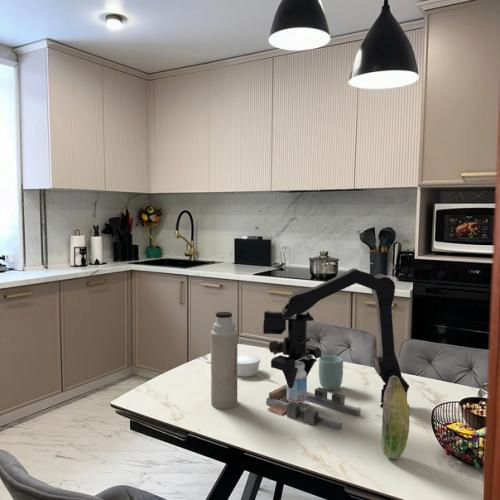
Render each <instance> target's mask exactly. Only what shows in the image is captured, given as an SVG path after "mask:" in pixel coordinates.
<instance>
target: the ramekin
mask: <svg viewBox="0 0 500 500" xmlns="http://www.w3.org/2000/svg"><path fill="white" fill-rule="evenodd" d="M260 362H261V357H260V356H258V355H254V354H250V353H249V354H248V353H246V354H245V353H241V354H237V377H242V378H249V377H253V376H255V375H257V373H258V371H259V368H260Z"/></svg>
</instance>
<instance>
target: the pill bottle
mask: <svg viewBox="0 0 500 500" xmlns="http://www.w3.org/2000/svg"><path fill="white" fill-rule="evenodd" d="M295 367H296V368H298V370H297V374H296V377H295V381H294V385H293V387H292V389H291V388H289V387H288V384H287V383H286V385H287V397H286V400H287V401H288V402H289V403H291V402H294V403H297V404H301V403H304V402H306V401H307V400H306V398H307V392H308V391H307V389H308V388H307V387H308V386H307V385H308V382H307V381H308V376H307V373H306V371H305V370H304V368H305V364H304V363H303V362H300V361H296V362H295Z"/></svg>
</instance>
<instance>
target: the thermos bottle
mask: <svg viewBox="0 0 500 500" xmlns="http://www.w3.org/2000/svg"><path fill="white" fill-rule="evenodd" d="M215 317H216V318H215V322H214V323H213V324H212V330H210V373H211V374H210V377H211V379H210V380H211V381H210V383H211V384H210V405H211V406H212V407H213V408H215V409H220V410H228V409H229V410H230V409H232V408H235V407H236V406H237V405H238V376H237V355H238V330H237V329H236V324H235V322H233V313H232V312H230V311H218V312H215Z"/></svg>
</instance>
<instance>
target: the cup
mask: <svg viewBox="0 0 500 500" xmlns="http://www.w3.org/2000/svg"><path fill="white" fill-rule="evenodd" d="M343 376H344V358H343V357H342V356H338V355H334V354H326V355H325V354H324V355H321V357H319V358H318V380H319V384H320V386H321V388H323V389H327V391H336V390H338V389H339V388H340V387H341V386H342V383H343Z"/></svg>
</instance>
